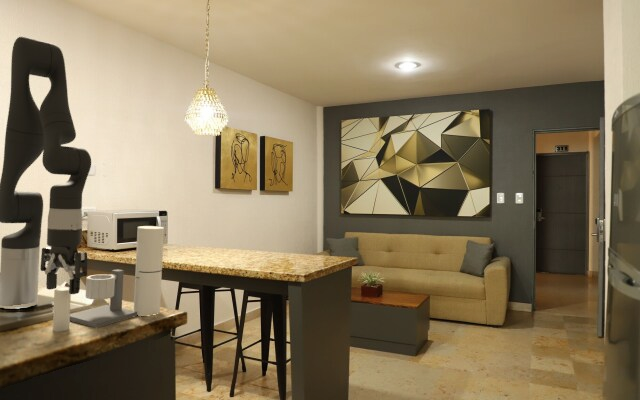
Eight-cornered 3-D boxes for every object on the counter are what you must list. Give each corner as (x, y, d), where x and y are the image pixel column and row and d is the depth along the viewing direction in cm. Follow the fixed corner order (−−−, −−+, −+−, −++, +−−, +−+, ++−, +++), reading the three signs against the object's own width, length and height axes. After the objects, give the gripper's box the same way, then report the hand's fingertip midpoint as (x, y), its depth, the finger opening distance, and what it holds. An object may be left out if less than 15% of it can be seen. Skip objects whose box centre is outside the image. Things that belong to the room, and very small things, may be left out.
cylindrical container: (150, 317, 126) (155, 229, 126) (128, 314, 128) (132, 227, 127) (164, 311, 133) (168, 227, 133) (142, 308, 135) (147, 225, 134)
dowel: (49, 329, 112) (51, 290, 112) (63, 326, 115) (64, 287, 115) (59, 332, 111) (60, 292, 110) (72, 328, 114) (74, 289, 114)
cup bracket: (65, 319, 120) (67, 273, 120) (106, 308, 132) (108, 266, 132) (96, 328, 115) (99, 279, 115) (136, 315, 127) (138, 272, 127)
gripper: (31, 225, 112) (29, 290, 112) (70, 229, 106) (67, 298, 106) (60, 223, 118) (58, 285, 119) (98, 228, 112) (95, 292, 113)
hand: (62, 291), depth 112 cm, fingers open, 8 cm apart
